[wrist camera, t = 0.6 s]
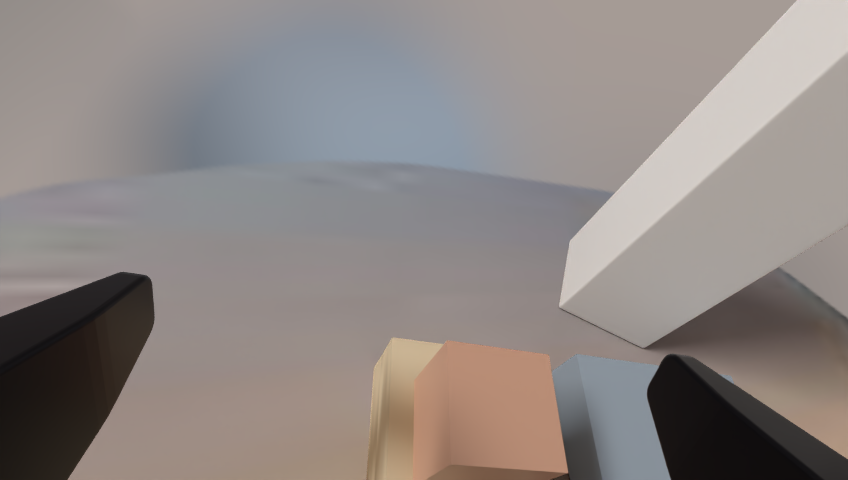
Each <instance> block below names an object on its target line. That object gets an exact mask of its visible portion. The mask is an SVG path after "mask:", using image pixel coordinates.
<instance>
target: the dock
mask: <svg viewBox="0 0 848 480" xmlns="http://www.w3.org/2000/svg"><path fill="white" fill-rule="evenodd" d="M658 367H659V366H658V365H650V364H643V363H636V362H629V361H622V360H615V359H608V358H601V357H594V356H587V355H580V354H576V355H574V356H573V357H571V358H570V359H569V360H567V361H566V362H564V363H563V364H562V365H560V366H559V367H557V368H556V369H555V370H553V371H552V377H553V383H554V389H555V395H556V400H557V406H558V412H559V418H560V424H561V430H562V436H563V442H564V448H565V454H566V460H567V465H568V471H569V477H570V480H671V479H670V475H669V472H668V469H667V466H666V462H665V459H664V455H663V452H662V448H661V445H660V442H659V438H658V435H657V431H656V428H655V424H654V421H653V417H652V414H651V410H650V407H649V403H648V400H647V388H648V385H649V383H650V381H651V380H652V378H653V376H654V374H655V373H656V371H657V369H658ZM719 375H721V374H719ZM721 376H722V377H724V378H725V379H727V380H728V381H730V382H731V383H733V384H734V382H733V380H732V377H731V376H728V375H721Z"/></svg>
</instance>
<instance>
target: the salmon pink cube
mask: <svg viewBox="0 0 848 480" xmlns="http://www.w3.org/2000/svg"><path fill="white" fill-rule="evenodd" d="M567 473H568V468H567V462H566V456H565V450H564V444H563V438H562V432H561V426H560V420H559V414H558V408H557V402H556V396H555V390H554V384H553V378H552V371H551V365H550V359H549V355H547V354H540V353H533V352H525V351H518V350H511V349H504V348H497V347H490V346H483V345H476V344H469V343H462V342H455V341H446V343H445V344H444V345H443V346H442V347H441V349H440V350H439V351H438V352H437V353H436V355H435V356H434V357H433V358H432V359H431V361H430V362H429V363H428V364H427V365H426V367H425V368H424V369H423V370H422V371H421V373H420V374H419V375H418V376H417V377H416V379H415V380H414V438H413V480H551V479H553V478H556V477H559V476H562V475H564V474H567Z"/></svg>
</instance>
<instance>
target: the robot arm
mask: <svg viewBox="0 0 848 480" xmlns="http://www.w3.org/2000/svg"><path fill="white" fill-rule="evenodd" d="M153 324H154V302H153V289H152V282H151V279H150V278H149V277H148V276H146V275H141V274H135V273H128V272H120V273H117V274H114V275H111V276H109V277H106V278H103V279H101V280H98V281H95V282H92V283H90V284H87V285H84V286H82V287H79V288H76V289H74V290H71V291H68V292H66V293H63V294H60V295H58V296H55V297H52V298H50V299H47V300H44V301H42V302H39V303H36V304H34V305H31V306H28V307H26V308H23V309H20V310H18V311H15V312H12V313H10V314H7V315H4V316H2V317H0V480H67V479H68V478H69V476H70V475H71V473H72V472H73V470H74V469H75V467H76V466H77V464H78V463H79V461H80V459H81V458H82V456H83V455H84V453H85V452H86V450H87V449H88V447H89V446H90V444H91V442H92V441H93V439H94V438H95V436H96V435H97V433H98V432H99V430H100V429H101V427H102V425H103V424H104V422H105V420H106V419H107V417H108V416H109V414H110V412H111V410H112V408H113V406H114V404H115V403H116V401H117V399H118V397H119V395H120V393H121V391H122V389H123V387H124V385H125V383H126V381H127V379H128V377H129V375H130V373H131V371H132V369H133V367H134V365H135V363H136V361H137V359H138V357H139V355H140V353H141V351H142V349H143V347H144V345H145V343H146V341H147V339H148V337H149V335H150V333H151V331H152V328H153ZM647 400H648V403H649V407H650V410H651V414H652V417H653V421H654V424H655V428H656V431H657V435H658V438H659V442H660V445H661V448H662V452H663V455H664V459H665V462H666V466H667V469H668V472H669V475H670V479H671V480H848V459H846V458H845V457H843V456H842V455H840V454H839V453H837V452H836V451H834V450H833V449H831V448H830V447H828V446H827V445H825V444H824V443H822V442H821V441H819V440H818V439H816V438H815V437H813V436H811V435H810V434H808V433H807V432H805V431H804V430H802V429H801V428H799V427H798V426H796V425H795V424H793V423H792V422H790V421H789V420H787V419H786V418H784V417H783V416H781V415H780V414H778V413H777V412H775V411H774V410H772V409H771V408H769V407H768V406H766V405H765V404H763V403H762V402H760V401H759V400H757V399H756V398H754V397H753V396H751V395H750V394H748V393H747V392H745V391H744V390H742V389H741V388H739V387H737V386H736V385H734V384H733V383H731V382H730V381H728V380H727V379H725V378H724V377H722V376H721V375H719V374H718V373H716V372H715V371H713V370H712V369H710V368H709V367H707V366H706V365H704V364H703V363H701V362H700V361H698V360H697V359H695V358H693V357H691V356H686V355H679V354H668V355H667V356H666V357H664V359H663V360H662V362H661V364H660V366H659V367H658V369H657V371H656V373H655V374H654V376H653V378H652V380H651V381H650V383H649V385H648V388H647Z"/></svg>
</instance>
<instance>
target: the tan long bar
mask: <svg viewBox="0 0 848 480" xmlns="http://www.w3.org/2000/svg"><path fill="white" fill-rule="evenodd" d="M443 345H444V344H437V343H430V342H422V341H415V340H408V339H400V338H393V337H392V339H391V341H390V342H389V344H388V346H387V347H386V349H385V351H384V352H383V354H382V356H381V357H380V359H379V361H378V362H377V364H376V365H375V367H374V373H373V389H372V404H371V419H370V434H369V449H368V465H367V480H413V438H414V380H415V379H416V377H417V376H418V375H419V374H420V373H421V371H422V370H423V369H424V368H425V367H426V365H427V364H428V363H429V362H430V361H431V359H432V358H433V357H434V356H435V355H436V353H437V352H438V351H439V350H440V349H441V347H442V346H443Z"/></svg>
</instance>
